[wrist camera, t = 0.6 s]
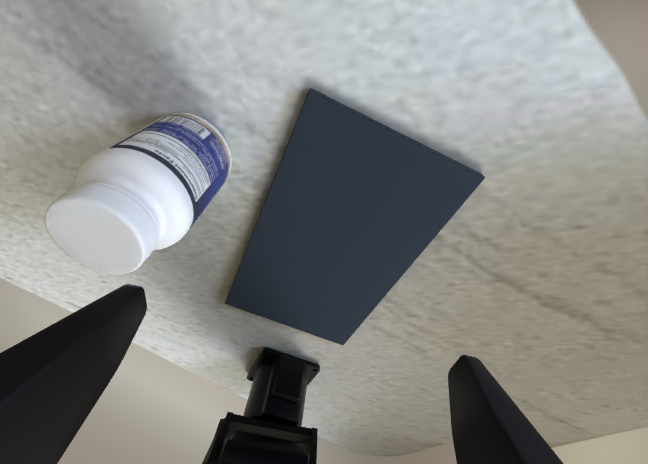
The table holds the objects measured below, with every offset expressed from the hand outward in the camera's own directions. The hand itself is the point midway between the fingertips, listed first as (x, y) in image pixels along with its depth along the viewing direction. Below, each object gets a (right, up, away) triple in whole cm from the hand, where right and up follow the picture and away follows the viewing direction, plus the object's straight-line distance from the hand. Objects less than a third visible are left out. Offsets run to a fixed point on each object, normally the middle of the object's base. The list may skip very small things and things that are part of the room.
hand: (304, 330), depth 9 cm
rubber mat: (+1, +1, +16) cm, 16 cm away
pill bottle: (-8, +8, +12) cm, 17 cm away
